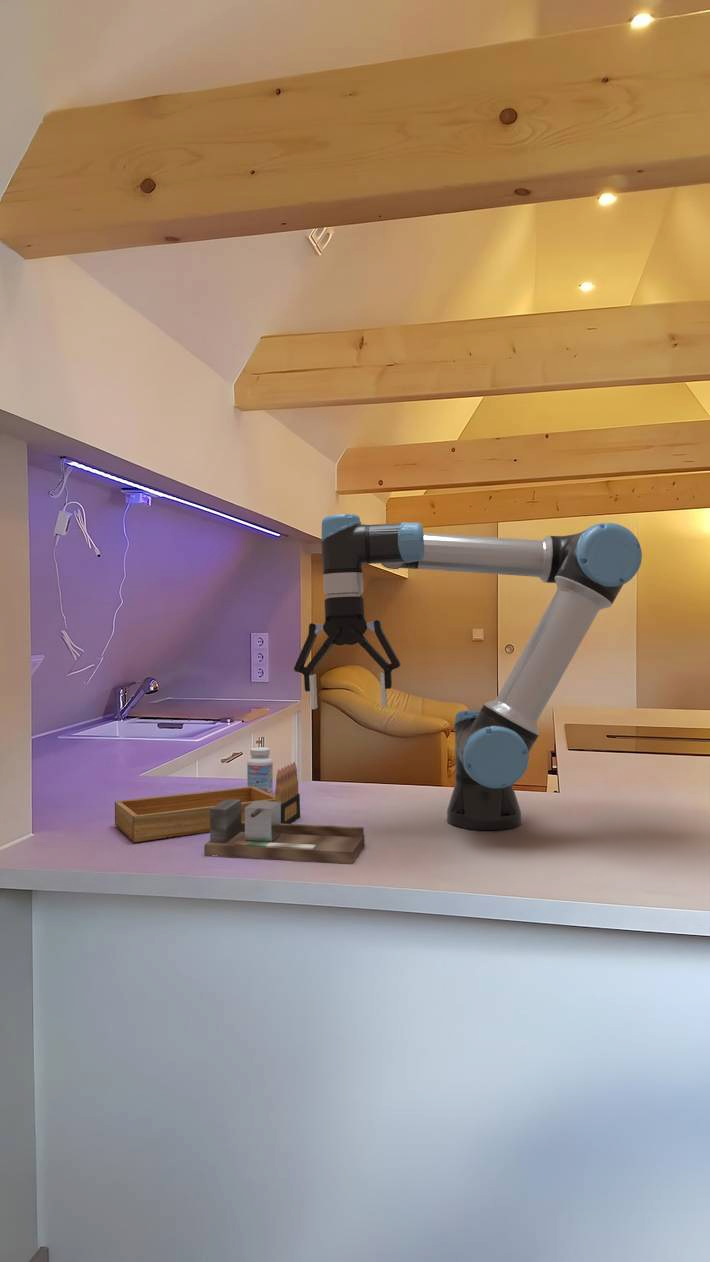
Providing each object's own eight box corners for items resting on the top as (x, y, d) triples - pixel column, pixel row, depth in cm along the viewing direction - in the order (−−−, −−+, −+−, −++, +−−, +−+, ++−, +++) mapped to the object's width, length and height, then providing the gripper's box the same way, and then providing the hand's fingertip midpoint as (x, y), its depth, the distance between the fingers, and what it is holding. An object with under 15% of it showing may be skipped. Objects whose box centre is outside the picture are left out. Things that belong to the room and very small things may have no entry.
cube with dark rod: (280, 833, 144) (280, 801, 144) (266, 847, 136) (265, 812, 136) (255, 832, 146) (254, 800, 145) (239, 845, 137) (238, 811, 137)
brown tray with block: (364, 845, 144) (364, 802, 144) (352, 863, 133) (351, 817, 133) (227, 838, 150) (226, 797, 149) (204, 855, 139) (204, 810, 139)
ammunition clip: (282, 830, 156) (281, 770, 156) (273, 829, 156) (272, 769, 156) (300, 817, 166) (299, 761, 166) (292, 816, 167) (291, 760, 166)
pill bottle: (244, 797, 185) (243, 750, 185) (251, 792, 191) (251, 746, 191) (268, 798, 184) (268, 750, 184) (275, 792, 190) (275, 746, 190)
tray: (253, 809, 175) (253, 784, 175) (281, 824, 162) (281, 796, 162) (114, 828, 160) (114, 801, 159) (134, 846, 146) (133, 816, 146)
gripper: (410, 593, 150) (415, 703, 150) (284, 600, 154) (289, 707, 154) (407, 592, 143) (412, 707, 143) (275, 599, 146) (280, 711, 147)
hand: (349, 707), depth 148 cm, fingers open, 13 cm apart
